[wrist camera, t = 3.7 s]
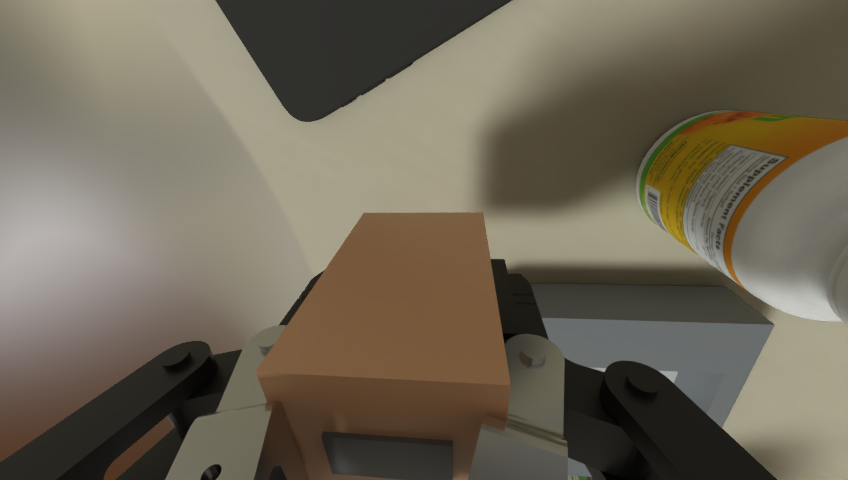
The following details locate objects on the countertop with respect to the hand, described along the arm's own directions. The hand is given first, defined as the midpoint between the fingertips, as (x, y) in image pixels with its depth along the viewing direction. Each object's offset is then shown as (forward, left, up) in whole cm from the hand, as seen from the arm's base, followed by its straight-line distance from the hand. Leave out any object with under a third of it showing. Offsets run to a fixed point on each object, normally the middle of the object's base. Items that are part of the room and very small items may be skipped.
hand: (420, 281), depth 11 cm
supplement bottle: (-2, +12, -7) cm, 14 cm away
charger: (0, 0, -1) cm, 1 cm away
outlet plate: (+10, +8, -6) cm, 15 cm away
